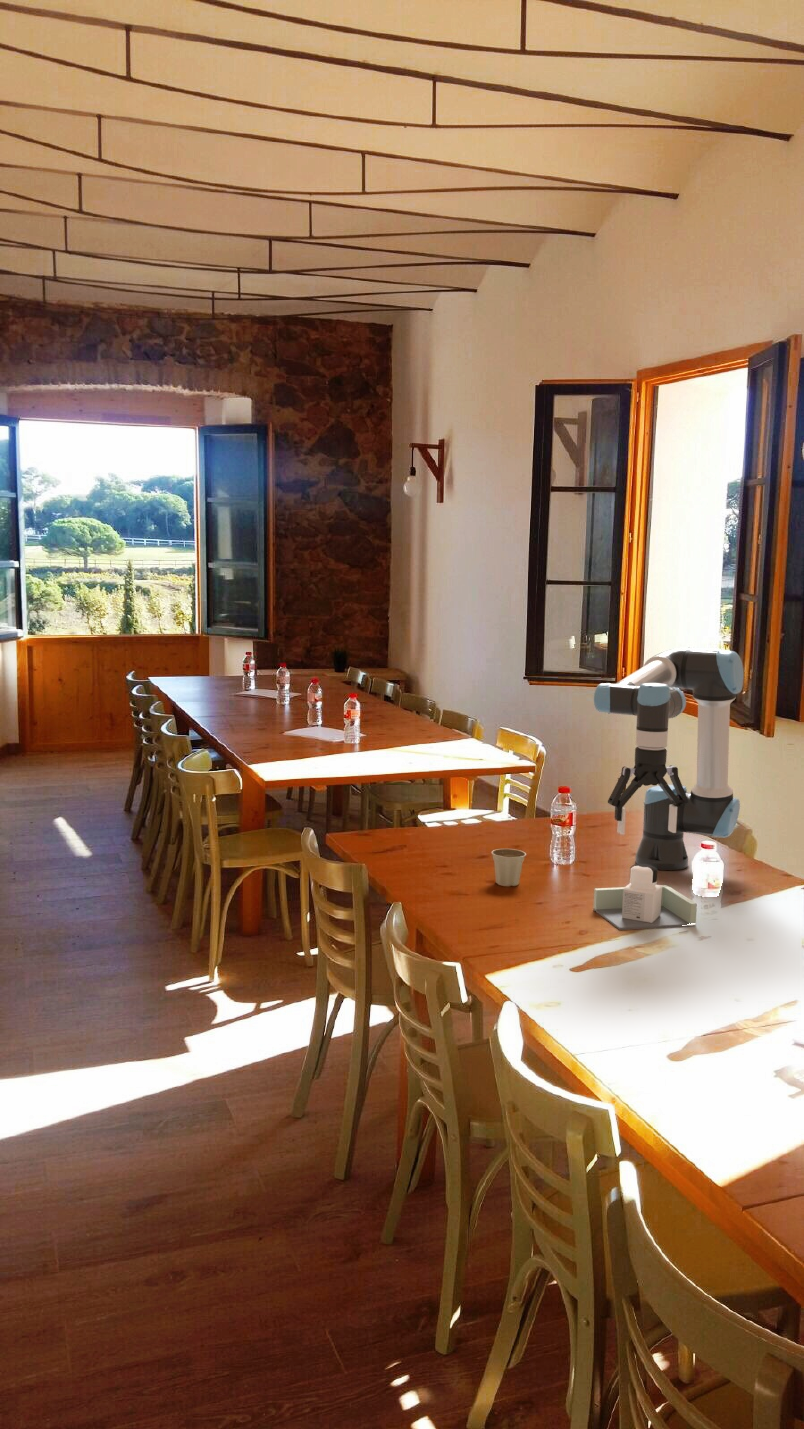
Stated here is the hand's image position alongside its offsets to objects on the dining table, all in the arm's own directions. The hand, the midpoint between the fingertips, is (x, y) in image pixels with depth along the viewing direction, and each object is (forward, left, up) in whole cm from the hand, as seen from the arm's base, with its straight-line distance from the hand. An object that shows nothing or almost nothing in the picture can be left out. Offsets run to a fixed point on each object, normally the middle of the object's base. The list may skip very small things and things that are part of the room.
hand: (646, 832), depth 280 cm
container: (0, 0, -22) cm, 22 cm away
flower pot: (+23, -35, -22) cm, 47 cm away
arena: (-1, -1, -22) cm, 22 cm away
